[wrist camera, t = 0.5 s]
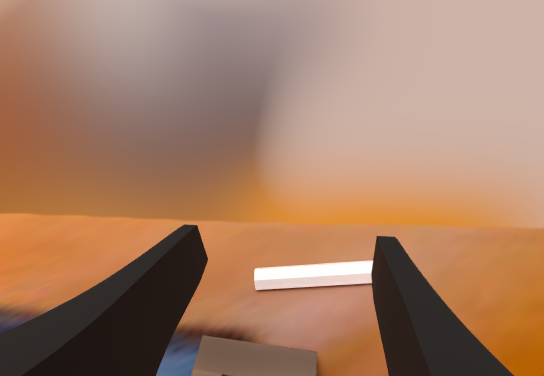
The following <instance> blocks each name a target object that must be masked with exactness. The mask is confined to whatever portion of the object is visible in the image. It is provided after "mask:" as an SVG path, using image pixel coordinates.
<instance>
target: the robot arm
mask: <svg viewBox="0 0 544 376" xmlns="http://www.w3.org/2000/svg"><path fill="white" fill-rule="evenodd" d="M207 261H208V258H207V255H206V251H205V248H204V245H203V242H202V239H201V236H200V233H199V230H198V227H197V225H183V226H181V227H180V228H178V229H177V230H175V231H174V232H173V233H171V234H170V235H169V236H167V237H166V238H164V239H163V240H162V241H160V242H159V243H158V244H156V245H155V246H153V247H152V248H151V249H149V250H148V251H147V252H145V253H144V254H142V255H141V256H140V257H138V258H137V259H135V260H134V261H132V262H131V263H129V264H128V265H127V266H125V267H124V268H122V269H121V270H119V271H118V272H116V273H115V274H113V275H112V276H110V277H109V278H107V279H105V280H104V281H102V282H101V283H99V284H97V285H96V286H94V287H92V288H90V289H89V290H87V291H85V292H84V293H82V294H80V295H78V296H77V297H75V298H73V299H71V300H69V301H67V302H65V303H63V304H61V305H59V306H58V307H56V308H54V309H52V310H50V311H48V312H46V313H44V314H42V315H40V316H38V317H36V318H34V319H32V320H30V321H28V322H25V323H23V324H21V325H19V326H17V327H15V328H12V329H10V330H8V331H6V332H3V333H1V334H0V376H156V373H157V371H158V368H159V366H160V363H161V361H162V358H163V356H164V353H165V351H166V349H167V346H168V344H169V342H170V340H171V337H172V335H173V333H174V331H175V329H176V327H177V325H178V323H179V322H180V320H181V318H182V316H183V314H184V312H185V310H186V308H187V306H188V304H189V302H190V300H191V299H192V297H193V295H194V293H195V291H196V289H197V287H198V285H199V283H200V280H201V278H202V275H203V273H204V270H205V267H206V264H207ZM371 278H372V289H373V299H374V305H375V310H376V315H377V320H378V324H379V329H380V334H381V339H382V344H383V348H384V353H385V358H386V363H387V368H388V373H389V376H514V375H513V374H512V373H511V372H510V371H509V370H508V369H507V368H506V367H505V366H504V365H503V364H502V363H501V362H500V361H499V360H498V359H496V358H495V357H494V356H493V355H492V354H491V353H490V352H489V351H488V350H487V348H486V347H485V346H484V345H483V344H482V343H481V342H480V341H479V340H478V339H477V338H476V337H475V336H474V335H473V334H472V333H471V332H470V331H469V330H468V329H467V327H466V326H465V325H464V324H463V323H462V322H461V321H460V320H459V319H458V317H457V316H456V315H455V314H454V313H453V312H452V311H451V309H450V308H449V307H448V306H447V305H446V304H445V302H444V301H443V300H442V299H441V298H440V296H439V295H438V294H437V293H436V292H435V290H434V289H433V288H432V286H431V285H430V284H429V283H428V281H427V280H426V279H425V278H424V276H423V275H422V274H421V272H420V271H419V270H418V268H417V267H416V266H415V264H414V263H413V261H412V260H411V259H410V257H409V256H408V254H407V253H406V251H405V250H404V248H403V247H402V245H401V244H400V242H399V241H398V239H396V238H395V237H386V236H377V239H376V245H375V252H374V259H373V265H372V272H371Z"/></svg>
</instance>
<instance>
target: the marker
mask: <svg viewBox="0 0 544 376" xmlns="http://www.w3.org/2000/svg"><path fill="white" fill-rule="evenodd" d="M372 265H373V260H370V261H355V262H340V263H325V264H310V265H296V266H281V267H266V268H256V269H255V274H254V282H255V288H256V290H264V289H281V288H297V287H314V286H330V285H347V284H363V283H372V278H371V272H372Z"/></svg>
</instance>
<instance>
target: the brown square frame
mask: <svg viewBox="0 0 544 376" xmlns="http://www.w3.org/2000/svg"><path fill="white" fill-rule="evenodd" d="M316 368H317V352H314V351H307V350H300V349H294V348H287V347H280V346H273V345H266V344H259V343H252V342H245V341H238V340H231V339H224V338H217V337H210V336H203V337H202V340H201V343H200V347H199V350H198V354H197V357H196V361H195V364H194V368H193V371H192V375H191V376H316Z"/></svg>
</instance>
